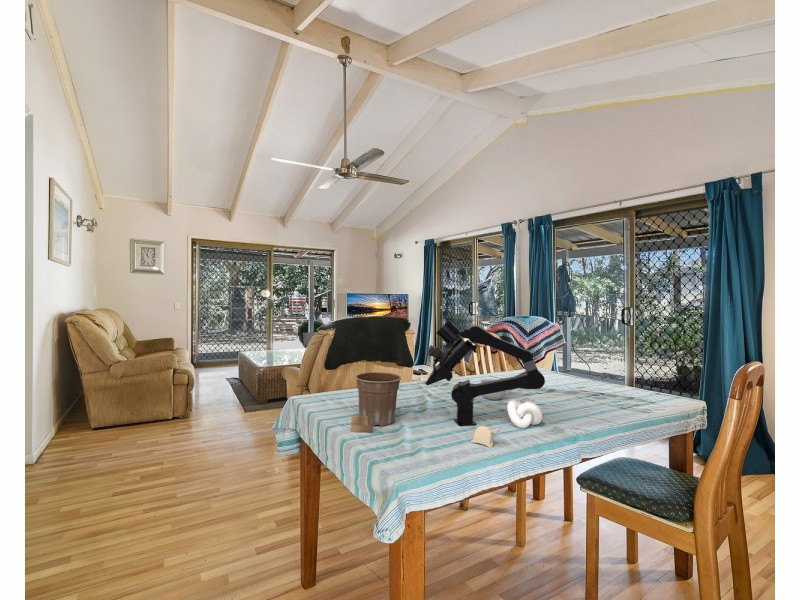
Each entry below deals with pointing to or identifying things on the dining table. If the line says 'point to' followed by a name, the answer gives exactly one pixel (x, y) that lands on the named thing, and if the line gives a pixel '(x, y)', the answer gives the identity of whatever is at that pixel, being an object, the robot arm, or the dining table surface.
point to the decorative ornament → (484, 436)
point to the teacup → (494, 395)
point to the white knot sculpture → (524, 412)
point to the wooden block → (362, 423)
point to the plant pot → (378, 396)
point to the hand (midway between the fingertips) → (426, 384)
